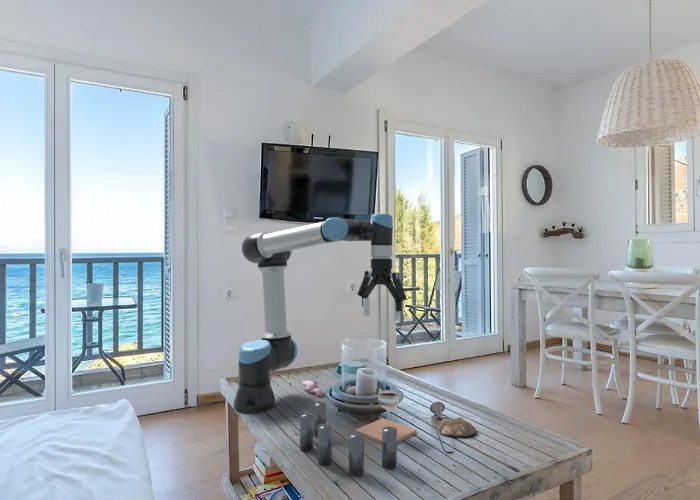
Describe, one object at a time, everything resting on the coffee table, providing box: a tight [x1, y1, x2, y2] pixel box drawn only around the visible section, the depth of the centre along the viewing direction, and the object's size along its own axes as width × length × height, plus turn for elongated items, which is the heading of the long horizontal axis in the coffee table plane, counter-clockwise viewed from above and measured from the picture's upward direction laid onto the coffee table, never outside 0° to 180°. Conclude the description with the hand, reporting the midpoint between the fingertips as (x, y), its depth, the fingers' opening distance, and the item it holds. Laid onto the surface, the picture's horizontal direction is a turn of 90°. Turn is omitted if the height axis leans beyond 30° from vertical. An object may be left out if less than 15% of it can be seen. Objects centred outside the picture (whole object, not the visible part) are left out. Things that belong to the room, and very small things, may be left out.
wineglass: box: [377, 389, 400, 432], centre depth 141 cm, size 7×7×12 cm
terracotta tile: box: [354, 417, 417, 445], centre depth 142 cm, size 14×14×1 cm
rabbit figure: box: [301, 380, 327, 398], centre depth 180 cm, size 6×6×15 cm
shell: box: [439, 416, 477, 439], centre depth 145 cm, size 12×13×4 cm
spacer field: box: [299, 400, 398, 478], centre depth 126 cm, size 32×15×10 cm, turn 47°
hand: (380, 318), depth 155 cm, fingers open, 13 cm apart
